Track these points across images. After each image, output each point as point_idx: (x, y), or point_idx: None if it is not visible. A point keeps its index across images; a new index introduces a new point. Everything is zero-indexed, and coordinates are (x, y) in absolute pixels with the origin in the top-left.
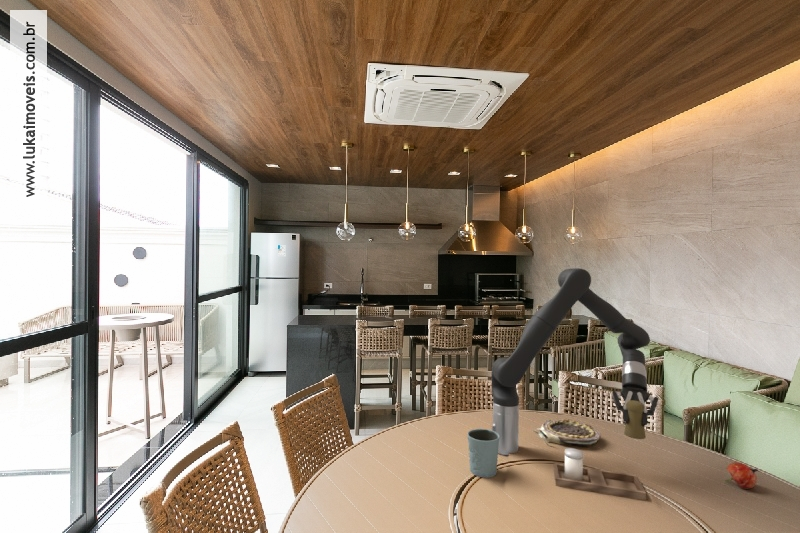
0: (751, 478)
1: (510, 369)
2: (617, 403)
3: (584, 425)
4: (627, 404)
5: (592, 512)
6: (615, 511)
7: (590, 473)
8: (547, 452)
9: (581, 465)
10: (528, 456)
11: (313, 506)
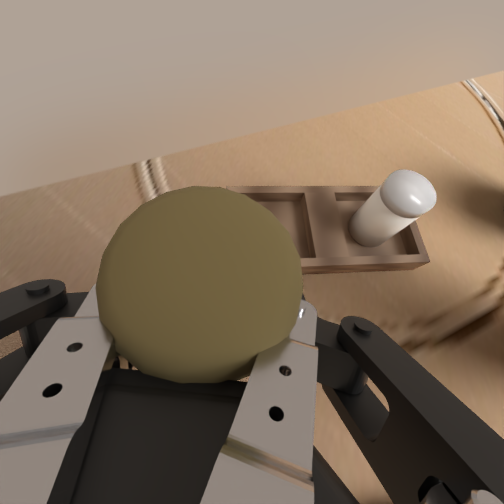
0: None
1: None
2: (388, 346)
3: None
4: (293, 245)
5: (320, 147)
6: (284, 160)
7: (340, 235)
8: (467, 401)
9: (371, 195)
10: (496, 340)
11: None
